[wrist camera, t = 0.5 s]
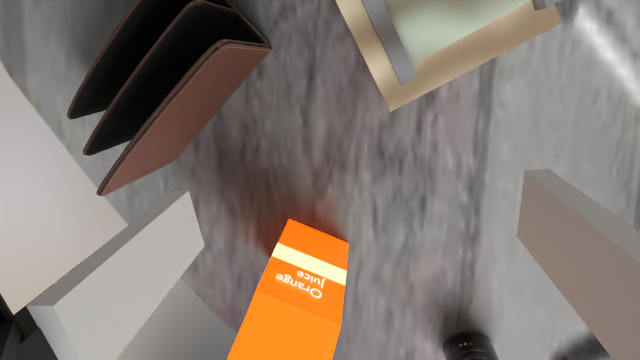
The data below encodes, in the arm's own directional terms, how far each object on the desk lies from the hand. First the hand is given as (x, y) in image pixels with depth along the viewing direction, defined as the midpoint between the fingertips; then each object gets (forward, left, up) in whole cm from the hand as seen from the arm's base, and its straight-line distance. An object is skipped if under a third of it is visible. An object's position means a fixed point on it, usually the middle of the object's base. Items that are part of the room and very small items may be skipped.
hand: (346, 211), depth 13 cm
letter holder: (-12, -16, -27) cm, 34 cm away
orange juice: (+14, -15, -27) cm, 34 cm away
